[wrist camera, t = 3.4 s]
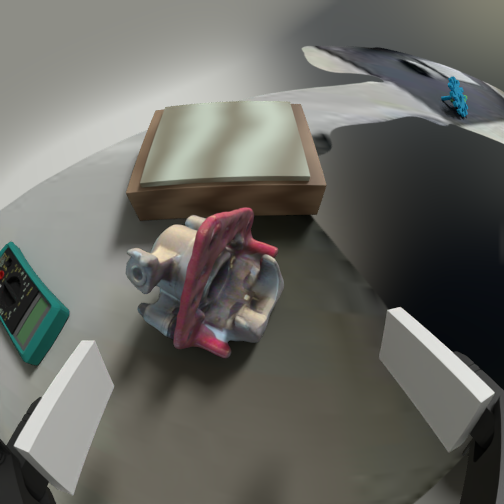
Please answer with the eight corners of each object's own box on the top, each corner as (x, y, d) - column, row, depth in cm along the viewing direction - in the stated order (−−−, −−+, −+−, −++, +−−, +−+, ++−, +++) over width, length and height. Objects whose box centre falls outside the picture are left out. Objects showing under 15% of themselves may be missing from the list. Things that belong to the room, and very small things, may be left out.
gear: (460, 115, 40) (448, 72, 37) (438, 117, 45) (428, 76, 42) (473, 118, 44) (464, 80, 41) (455, 119, 49) (446, 83, 46)
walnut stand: (140, 220, 27) (123, 188, 22) (162, 136, 33) (154, 106, 29) (316, 214, 27) (327, 180, 23) (296, 131, 34) (301, 100, 30)
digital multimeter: (19, 246, 26) (6, 235, 23) (75, 315, 22) (58, 305, 19) (-9, 289, 23) (-23, 280, 20) (41, 369, 19) (22, 364, 16)
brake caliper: (275, 393, 17) (126, 313, 10) (183, 355, 25) (76, 286, 18) (326, 259, 22) (244, 138, 15) (233, 258, 30) (154, 177, 23)
